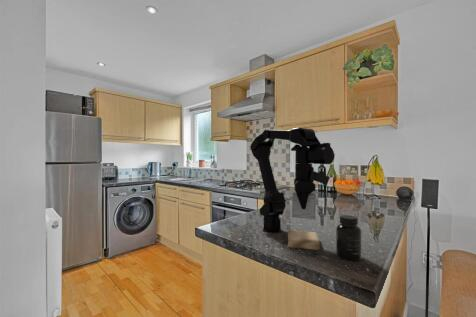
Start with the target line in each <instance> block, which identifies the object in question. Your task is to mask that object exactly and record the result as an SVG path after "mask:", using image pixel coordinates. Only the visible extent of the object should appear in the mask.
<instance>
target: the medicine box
mask: <svg viewBox="0 0 476 317" xmlns="http://www.w3.org/2000/svg"><path fill="white" fill-rule="evenodd" d="M291 195H292V196H291V197H292V198H291V218H295V219H296V218H297V219H305V220H307V219H308V220H316V204H317V194H316V193H315V192H312V193H311V194H309V196H308V200H307V204H306V208H305V209H302V208H301V205H300V202H299V200H298V197H297V194H296V191H295V190H293V191H292V194H291Z"/></svg>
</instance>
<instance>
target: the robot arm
mask: <svg viewBox="0 0 476 317" xmlns="http://www.w3.org/2000/svg"><path fill="white" fill-rule="evenodd" d="M316 135H317V134H316V132H315V130H314V129H313V128H307V127H296V128H295V127H294V128H291V129H288V130H286V129H283V130H282V129H271V128H266V129H264V130H263V132H262V133H260V134H259V135H257V136H256V137H255V138H254V139H253V140H252V142H251V144H250V151H251V153H252V156H253V157H254V158H255V159H256V160H257V163H258V166H259V172H260V175H261V179H262V183H263V187H264V191H265V192H264V196H263V204H262V206H261V207H260V208H259V215H260V216H263V227H262V231H263V232H272V233H279V232H280V230H281V228H282V227H281V226H282V225H281V223H282V222H281V220H282V219H281V217H280V215H281V216H283V215H284V211H285V209H286V207H287V206H286V203H287V200H286V199H285V194H284V192H283V191H281V192H280V191H279V190H278V188H277V185H276V184H277V183H276V180H275V176H274V172H273V169H272V165H271V161H270V156H271V152H272V151H271V148H272V147H273V146H274V143H275V140H284V141H285V140H286V141H289V142H291V143H293V144H294V146H293V147H292V148H291V149H290V151H292V152H295V159H294V160H295V162H294V164H295V166H294V169H295V170H294V175H295V176H294V179H293V185H294V186H293V187H294V191H296V194H297V197H298V200H299V202H300V205H301V208H302V209H305V208H306V204H307V200H308V196H309V194H311V193H314V192H315V191H316V184H315V182H317V183H320V184H322V185H323V186H327V185H328V183H329V181H330V179H331V177H330V176H328V175H325V172H324V171H322V170H318V171H315V170H314V167H313V165H330V164H333V163H334V160H335V155H336V154H335V152H334V149H333V148H332V147H331V143H330V142H322V143H321V141H320V139H318V137H317V136H316Z"/></svg>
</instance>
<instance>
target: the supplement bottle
mask: <svg viewBox="0 0 476 317" xmlns="http://www.w3.org/2000/svg"><path fill="white" fill-rule="evenodd" d="M358 219H359V217H357V216H354V215H351V214H350V215H348V214H342V215H340V216H339V224H338V225H337V226H336V229H335V230H336V231H335V232H336V233H335V234H336V235H335V240H336V241H335V242H336V248H335V250H336V251H335V252H336V256H338V258H340V259H342V260H345V261H348V262H349V261H350V262H357V261H360V260H361V258H362V229H361V227H359V226H358V224H359V221H358Z"/></svg>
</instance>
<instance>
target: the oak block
mask: <svg viewBox="0 0 476 317" xmlns="http://www.w3.org/2000/svg"><path fill="white" fill-rule="evenodd" d="M320 247H321V246H320V239H319V236H318V234H317V232H315V231H304V230H293V229H292V230H291V229H288V230H287V248H295V249H297V248H298V249H305V250H307V249H308V250H316V251H319V250H320Z"/></svg>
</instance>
